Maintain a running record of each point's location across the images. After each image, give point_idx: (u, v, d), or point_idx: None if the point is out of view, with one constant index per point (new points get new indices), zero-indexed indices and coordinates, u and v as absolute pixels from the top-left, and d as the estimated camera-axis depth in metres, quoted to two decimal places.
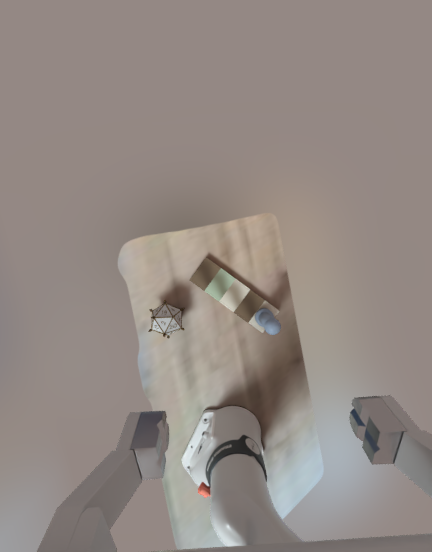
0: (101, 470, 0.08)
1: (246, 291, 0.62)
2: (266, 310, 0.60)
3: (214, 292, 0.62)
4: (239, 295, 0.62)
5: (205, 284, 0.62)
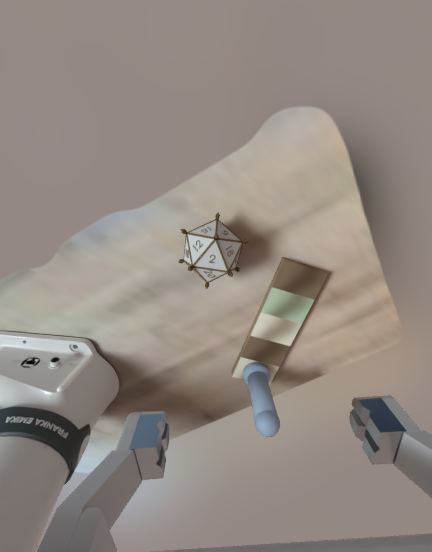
0: (101, 470, 0.08)
1: (286, 342, 0.41)
2: (268, 377, 0.42)
3: (273, 302, 0.38)
4: (277, 335, 0.40)
5: (283, 286, 0.37)
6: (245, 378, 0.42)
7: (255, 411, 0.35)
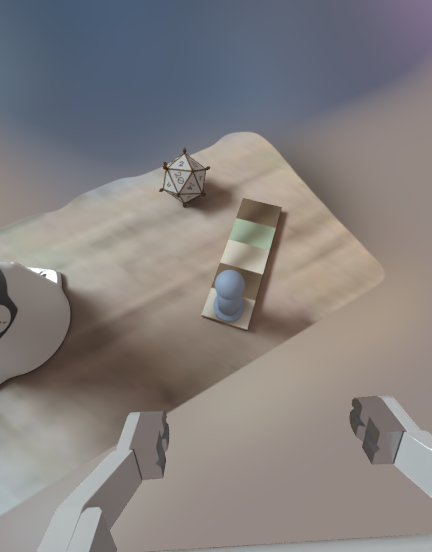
0: (101, 470, 0.08)
1: (257, 270, 0.39)
2: (242, 302, 0.36)
3: (239, 230, 0.42)
4: (247, 262, 0.40)
5: (245, 217, 0.43)
6: (215, 304, 0.36)
7: None
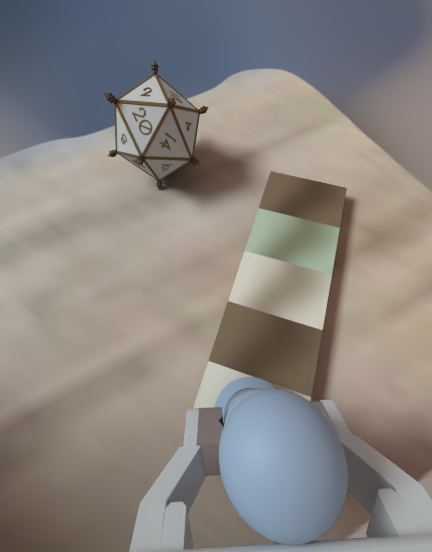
0: (174, 465, 0.08)
1: (310, 320, 0.18)
2: None
3: (265, 232, 0.21)
4: (287, 301, 0.19)
5: (276, 206, 0.22)
6: None
7: None
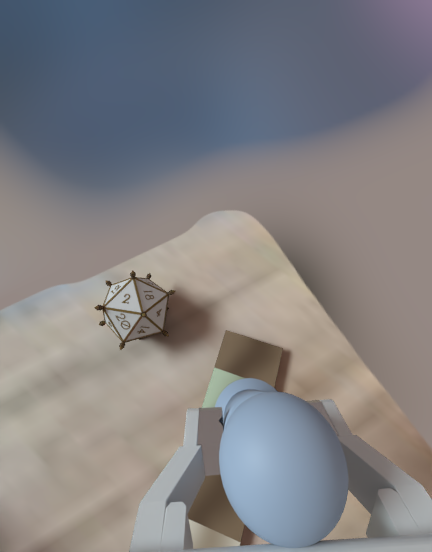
0: (174, 465, 0.08)
1: None
2: None
3: (217, 391, 0.28)
4: None
5: (228, 366, 0.29)
6: None
7: None
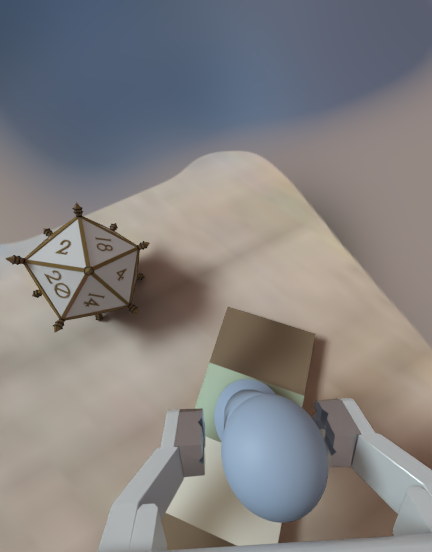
0: (150, 467, 0.08)
1: None
2: None
3: (214, 400, 0.17)
4: (234, 513, 0.15)
5: (230, 360, 0.18)
6: (218, 415, 0.16)
7: None
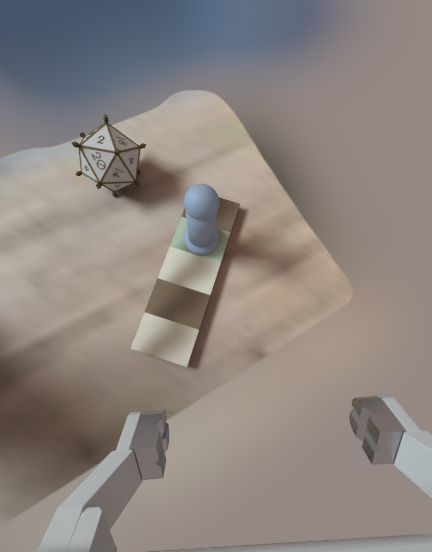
0: (101, 470, 0.08)
1: (204, 289, 0.32)
2: (215, 233, 0.32)
3: None
4: (192, 278, 0.32)
5: None
6: (185, 234, 0.32)
7: None
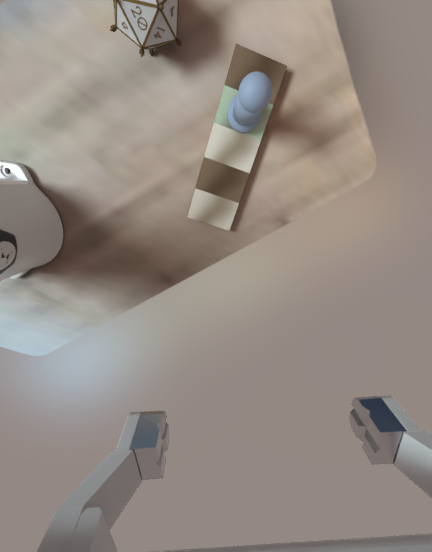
0: (101, 470, 0.08)
1: (244, 168, 0.37)
2: None
3: (227, 107, 0.34)
4: (234, 157, 0.36)
5: (236, 84, 0.33)
6: (230, 111, 0.33)
7: None
